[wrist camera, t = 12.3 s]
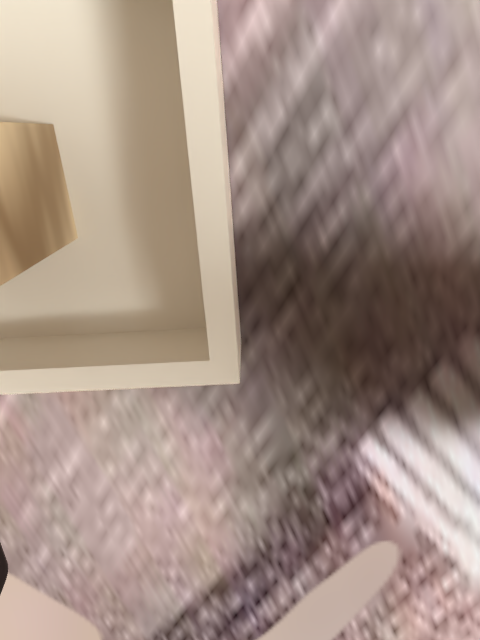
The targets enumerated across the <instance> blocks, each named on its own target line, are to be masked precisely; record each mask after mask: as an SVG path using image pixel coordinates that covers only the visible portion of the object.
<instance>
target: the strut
mask: <svg viewBox="0 0 480 640" xmlns="http://www.w3.org/2000/svg"><path fill="white" fill-rule="evenodd" d="M77 238H78V235H77V230H76V226H75V221H74V217H73V212H72V207H71V203H70V198H69V194H68V189H67V185H66V180H65V175H64V171H63V166H62V162H61V157H60V153H59V148H58V143H57V139H56V134H55V130H54V125H53V124H37V123H15V122H0V286H1V285H3V284H4V283H6V282H8V281H9V280H11V279H13V278H14V277H16V276H17V275H19V274H21V273H22V272H24V271H25V270H27V269H29V268H30V267H32V266H34V265H35V264H37V263H38V262H40V261H42V260H43V259H45V258H47V257H48V256H50V255H51V254H53V253H55V252H56V251H58V250H60V249H61V248H63V247H64V246H66V245H68V244H69V243H71V242H72V241H74V240H76V239H77Z"/></svg>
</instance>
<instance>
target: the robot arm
mask: <svg viewBox="0 0 480 640" xmlns="http://www.w3.org/2000/svg"><path fill="white" fill-rule="evenodd" d="M7 574H8V563H7V560H6V557H5V554H4V552H3V549H2V546H1V543H0V594H1V592H2V589H3V586H4V584H5V580H6V578H7Z"/></svg>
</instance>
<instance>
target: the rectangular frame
mask: <svg viewBox="0 0 480 640" xmlns="http://www.w3.org/2000/svg"><path fill="white" fill-rule="evenodd" d="M0 122H15V123H37V124H53V125H54V130H55V134H56V139H57V143H58V148H59V153H60V157H61V162H62V166H63V171H64V175H65V180H66V185H67V189H68V194H69V198H70V203H71V207H72V212H73V217H74V221H75V226H76V230H77V235H78V238H77V239H76V240H74V241H72V242H71V243H69V244H68V245H66V246H64V247H63V248H61V249H60V250H58V251H56V252H55V253H53V254H51V255H50V256H48V257H47V258H45V259H43V260H42V261H40V262H38V263H37V264H35V265H34V266H32V267H30V268H29V269H27V270H25V271H24V272H22V273H21V274H19V275H17V276H16V277H14V278H13V279H11V280H9V281H8V282H6V283H4V284H3V285H1V286H0V395H7V394H29V393H50V392H71V391H93V390H114V389H136V388H157V387H178V386H200V385H221V384H240V364H241V331H240V317H239V302H238V288H237V274H236V260H235V246H234V232H233V218H232V203H231V189H230V175H229V161H228V147H227V133H226V119H225V105H224V90H223V76H222V62H221V48H220V34H219V20H218V6H217V0H0Z"/></svg>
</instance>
